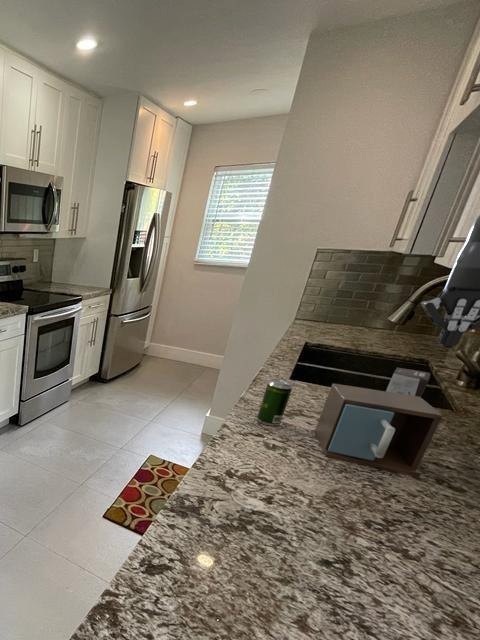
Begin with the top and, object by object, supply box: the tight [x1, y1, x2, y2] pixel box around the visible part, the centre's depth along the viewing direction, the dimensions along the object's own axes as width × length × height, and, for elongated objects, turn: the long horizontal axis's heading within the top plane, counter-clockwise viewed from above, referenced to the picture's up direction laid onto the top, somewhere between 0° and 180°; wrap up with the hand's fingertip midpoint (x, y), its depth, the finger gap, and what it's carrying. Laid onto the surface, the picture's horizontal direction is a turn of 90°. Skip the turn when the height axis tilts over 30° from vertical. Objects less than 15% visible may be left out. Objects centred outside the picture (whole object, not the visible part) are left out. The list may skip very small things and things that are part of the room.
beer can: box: [257, 378, 293, 427], centre depth 111 cm, size 5×5×12 cm
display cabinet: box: [313, 383, 444, 478], centre depth 95 cm, size 16×14×14 cm
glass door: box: [328, 404, 395, 461], centre depth 90 cm, size 8×6×12 cm
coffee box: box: [385, 367, 431, 398], centre depth 108 cm, size 9×6×16 cm
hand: (445, 346), depth 90 cm, fingers closed
